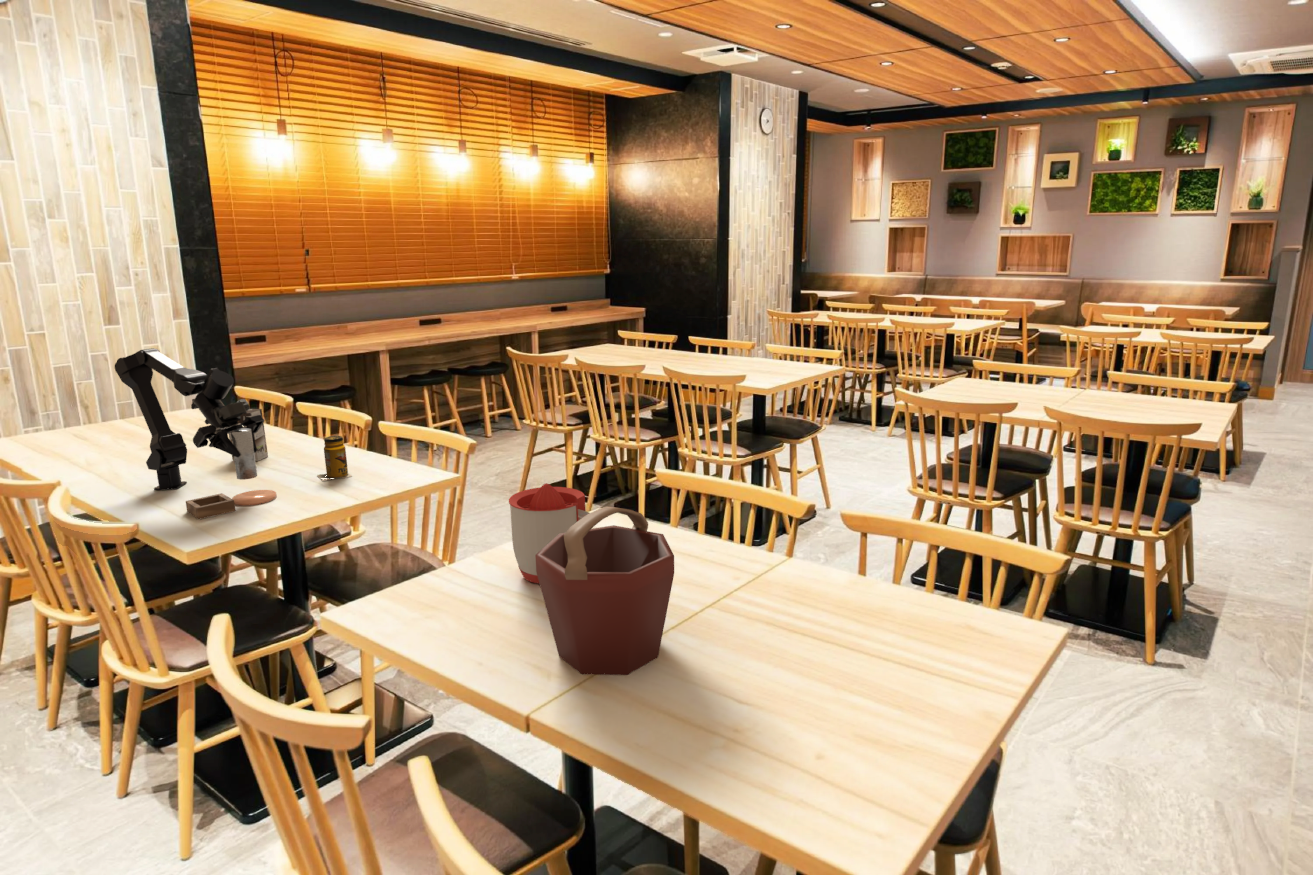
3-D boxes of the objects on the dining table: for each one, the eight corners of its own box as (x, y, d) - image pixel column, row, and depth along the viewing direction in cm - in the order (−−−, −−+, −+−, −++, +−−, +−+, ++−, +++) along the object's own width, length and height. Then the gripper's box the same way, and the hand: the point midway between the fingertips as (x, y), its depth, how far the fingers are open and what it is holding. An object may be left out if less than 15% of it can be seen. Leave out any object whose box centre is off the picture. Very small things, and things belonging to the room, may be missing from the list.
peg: (237, 475, 226) (231, 429, 223) (257, 473, 228) (251, 427, 225) (236, 480, 222) (229, 433, 219) (256, 478, 224) (250, 431, 221)
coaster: (242, 493, 233) (241, 490, 233) (282, 492, 234) (282, 489, 233) (225, 506, 222) (225, 502, 222) (267, 504, 223) (267, 501, 223)
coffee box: (269, 456, 273) (262, 408, 269) (258, 461, 267) (251, 412, 263) (243, 456, 274) (236, 408, 270) (231, 461, 268) (224, 412, 264)
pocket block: (187, 511, 218) (185, 501, 217) (223, 503, 224) (221, 493, 224) (198, 519, 212) (197, 508, 211) (235, 510, 218) (234, 500, 217)
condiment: (352, 476, 248) (347, 438, 245) (322, 481, 244) (317, 442, 241) (346, 471, 254) (341, 433, 251) (317, 476, 250) (312, 437, 247)
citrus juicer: (585, 592, 165) (581, 496, 160) (502, 587, 168) (496, 493, 163) (603, 562, 180) (600, 474, 175) (527, 558, 183) (522, 471, 178)
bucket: (600, 703, 126) (594, 549, 120) (508, 657, 140) (499, 517, 134) (701, 644, 143) (700, 507, 137) (610, 608, 158) (606, 482, 152)
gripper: (193, 397, 213) (228, 443, 211) (255, 385, 229) (288, 428, 227) (177, 424, 218) (212, 469, 216) (239, 411, 235) (271, 452, 233)
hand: (247, 453), depth 223 cm, fingers closed on peg, 5 cm apart
